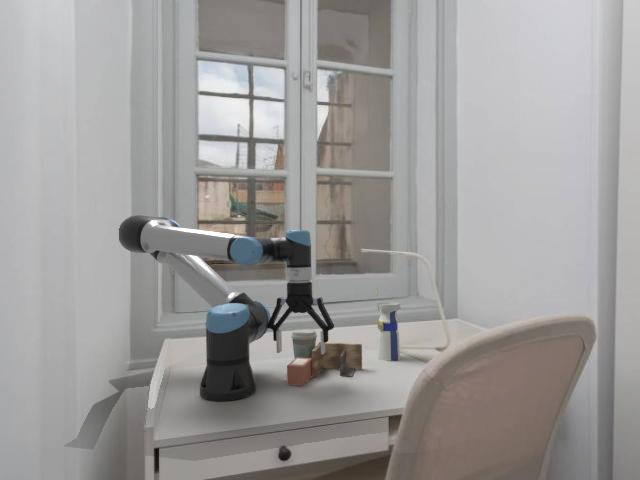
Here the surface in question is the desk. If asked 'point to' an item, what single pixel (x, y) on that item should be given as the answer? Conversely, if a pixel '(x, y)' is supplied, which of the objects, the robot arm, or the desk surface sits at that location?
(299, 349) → the coffee cup
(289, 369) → the red box
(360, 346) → the shelf
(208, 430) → the desk surface
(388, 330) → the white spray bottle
